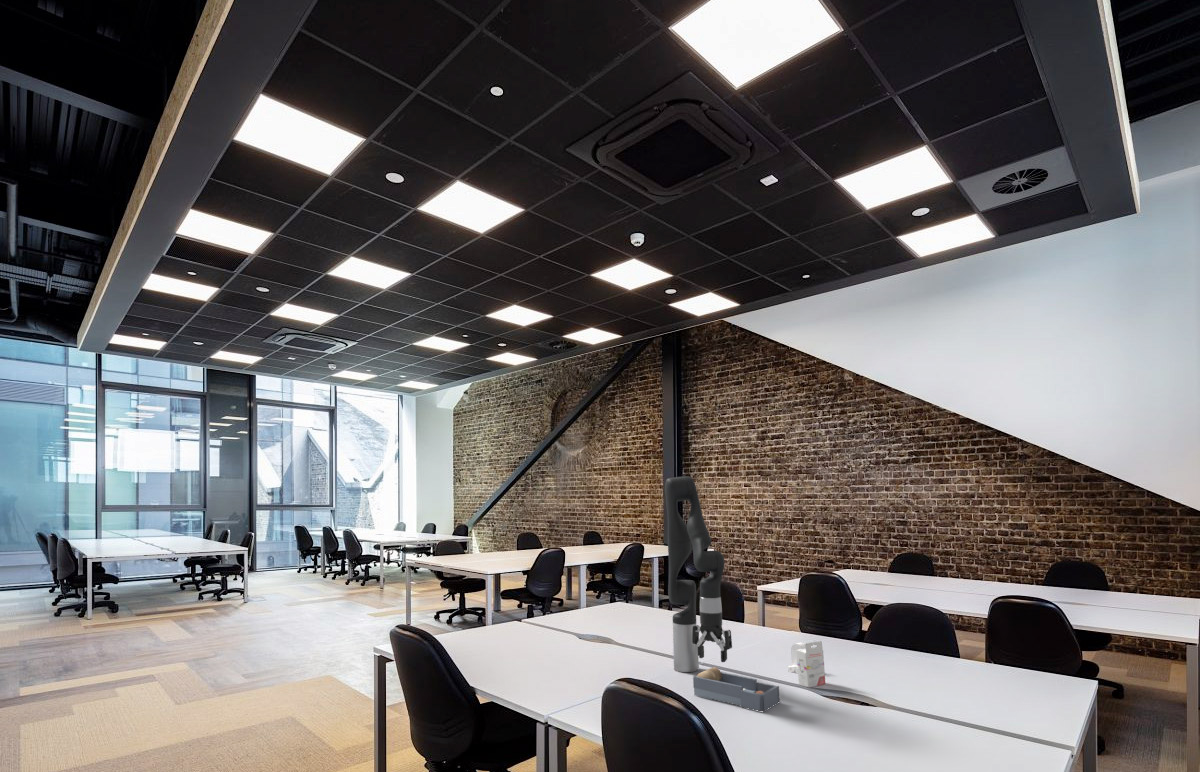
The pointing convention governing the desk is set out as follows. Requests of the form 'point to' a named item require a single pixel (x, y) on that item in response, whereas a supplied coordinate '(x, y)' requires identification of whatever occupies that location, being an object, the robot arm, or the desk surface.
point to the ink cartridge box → (811, 665)
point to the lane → (737, 691)
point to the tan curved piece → (711, 674)
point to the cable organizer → (795, 656)
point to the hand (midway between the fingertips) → (712, 659)
